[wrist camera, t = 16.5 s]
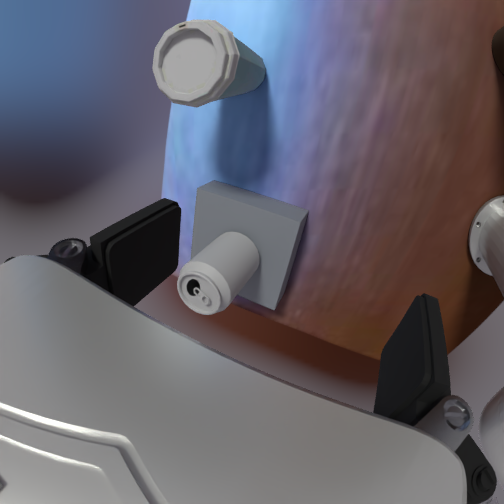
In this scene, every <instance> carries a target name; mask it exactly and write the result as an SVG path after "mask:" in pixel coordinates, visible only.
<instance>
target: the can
mask: <svg viewBox="0 0 504 504" xmlns="http://www.w3.org/2000/svg"><path fill="white" fill-rule="evenodd" d="M258 265H259V253H258V250H257V248H256V246H255V245H254V243H253V242H252V241H251V240H250V239H249V238H248V237H247V236H245V235H243V234H241V233H238V232H225V233H224V234H222V235H220V236H219V237H218V238H216V239H215V240H214V241H213V242H211V243H210V244H209V245H208V246H207V247H205V248H204V249H203V250H202V251H201V252H199V253H198V254H197V255H196V256H195V257H193V258H192V259H191V260H190V261H189V262H188V263H186V264H185V265H184V266H183V268H182V269H181V271H180V276H179V278H178V282H177V287H178V292H179V294H180V297H181V299H182V300H183V301H184V303H185V304H186V305H187V306H188V307H190V309H192V310H194V311H195V312H197V313H200V314H204V315H211V314H214V313H216V312H220V311H222V310H224V309H225V308H226V307H227V306H228V305H229V304H230V303H231V302H232V300H233V299H234V298H235V297H236V295H237V294H238V293H239V292H240V290H241V289H242V288H243V286H244V285H245V284H246V283H247V281H248V280H249V279H250V278H251V276H252V275H253V274H254V272H255V271H256V270H257V268H258Z"/></svg>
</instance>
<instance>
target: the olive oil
mask: <svg viewBox="0 0 504 504" xmlns="http://www.w3.org/2000/svg"><path fill="white" fill-rule="evenodd" d="M492 51H493V56H494V59H495V61H496V64H497V66H498V68H499V69H500V71H501V72H502V74H503V75H504V26H503V27H502V28H501V29H499V30H498V31H497V32H496V33H495V35H494V37H493V40H492Z"/></svg>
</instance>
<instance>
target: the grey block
mask: <svg viewBox="0 0 504 504" xmlns="http://www.w3.org/2000/svg"><path fill="white" fill-rule="evenodd" d="M307 215H308V210H306V209H303V208H300V207H297V206H294V205H291V204H288V203H285V202H282V201H279V200H276V199H273V198H270V197H267V196H264V195H260V194H257V193H254V192H251V191H248V190H245V189H241V188H238V187H235V186H232V185H228V184H225V183H222V182H218V181H215V180H213V181H211V182H209V183H207V184H205V185H203V186H201V187H199V188H197V195H196V205H195V215H194V226H193V238H192V250H191V259H192V258H193V257H195V256H196V255H197V254H198V253H199V252H201V251H202V250H203V249H204V248H205V247H207V246H208V245H209V244H210V243H211V242H213V241H214V240H215V239H216V238H218V237H219V236H220V235H222V234H224V233H225V232H238V233H241V234H243V235H245V236H247V237H248V238H249V239H250V240H251V241H252V242H253V243H254V245H255V246H256V248H257V250H258V253H259V265H258V268H257V270H256V271H255V272H254V274H253V275H252V276H251V278H250V279H249V280H248V281H247V283H246V284H245V285H244V286H243V288H242V289H241V290H240V292H239V293H238V294H237V295H239V296H241V297H243V298H246V299H248V300H250V301H253V302H255V303H258V304H260V305H262V306H265V307H267V308H270V309H272V310H275V308H276V307H277V305H278V303H279V301H280V300H281V298H282V296H283V294H284V292H285V288H286V285H287V282H288V279H289V276H290V272H291V269H292V266H293V262H294V259H295V256H296V252H297V249H298V246H299V242H300V239H301V236H302V232H303V229H304V225H305V222H306V218H307Z"/></svg>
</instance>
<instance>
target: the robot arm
mask: <svg viewBox="0 0 504 504" xmlns="http://www.w3.org/2000/svg"><path fill="white" fill-rule="evenodd" d="M503 200H504V195H502V196H497V197H495V198H492V199H491V200H489V201H488V202H486V203H485V204H484V205H483V206H482V207H481V208H480V209H479V211H478V212H477V214H476V215H475V217H474V219H473V221H472V224H471V227H470V231H469V249H470V253H471V256H472V259H473V261H474V262H475V264H476V265H477V267H478V268H479V269H480V270H481V271H483V272H484V273H486V274H488V275H491V276H493V277H494V279H495V281H496V283H497V285H498V287H499V289H500V291H501V293H502V295H503V297H504V202H503ZM180 222H181V208H180V207H179V205H178V203H177V202H175V201H172V200H169V199H166V198H163V199H161V200H159V201H157V202H155V203H153V204H151V205H149V206H147V207H145V208H143V209H141V210H139V211H138V212H135V213H134V214H131V215H130V216H128V217H126V218H124V219H122V220H120V221H118V222H117V223H115V224H113V225H111V226H109V227H107V228H105V229H104V230H102V231H100V232H98V233H96V234H95V235H93V236H91V237H90V243H91V245H90V246H88V247H87V244H86V243H85V241H83V240H81V239H78V238H68V239H64V240H61V241H59V242H57V243H56V244H55V245H53V247H52V248H51V250H50V252H49V255H39V256H32V255H24V256H23V255H22V256H18V257H11V258H9V259H7V260H6V262H4V263H3V264H1V265H0V504H498V500H497V497H495V498H492V495H493V493H494V491H495V488H496V482H497V480H498V481H499V483H500V485H501V487H502V489H503V491H504V387H503V388H502V389H501V390H500V391H499V392H497V393H496V394H495V395H494V396H493V397H492V399H491V400H490V401H489V402H488V403H487V404H486V406H485V407H484V409H483V411H482V413H481V416H480V419H479V426H478V430H479V439H480V444H481V447H482V450H483V452H484V454H483V453H482V452H481V450H480V449H479V447H478V446H477V445H476V443H475V442H474V440H473V439H472V438H471V436H470V435H469V432H470V431H471V429H472V427H473V423H474V417H473V412H472V410H471V408H470V406H469V405H468V403H467V402H466V401H465V400H463V399H462V398H460V397H458V396H455V395H451V390H450V376H449V366H448V357H447V350H446V342H445V336H444V330H443V324H442V318H441V313H440V307H439V303H438V299H437V298H435V297H432V296H430V295H427V294H425V293H424V294H422V295H421V296H419V295H418V296H416V297H415V299H414V301H413V302H412V304H411V306H410V307H409V309H408V311H407V312H406V314H405V316H404V317H403V319H402V320H401V322H400V324H399V325H398V327H397V328H396V330H395V331H394V333H393V334H392V336H391V337H390V339H389V340H388V342H387V343H386V345H385V347H384V348H383V351H382V354H381V361H380V370H379V378H378V386H377V393H376V399H375V405H374V412H373V413H372V412H369V411H366V410H363V409H360V408H357V407H354V406H351V405H348V404H346V403H343V402H340V401H337V400H334V399H332V398H329V397H326V396H323V395H320V394H318V393H315V392H312V391H310V390H307V389H305V388H302V387H300V386H297V385H294V384H292V383H289V382H287V381H284V380H282V379H279V378H277V377H275V376H272V375H270V374H268V373H265V372H263V371H261V370H258V369H256V368H254V367H252V366H249V365H247V364H245V363H243V362H240V361H238V360H236V359H234V358H232V357H229V356H227V355H225V354H223V353H221V352H219V351H216V350H215V349H213V348H210V347H209V346H206V345H204V344H202V343H200V342H198V341H196V340H194V339H192V338H190V337H188V336H187V335H185V334H183V333H181V332H179V331H177V330H175V329H173V328H171V327H169V326H168V325H166V324H164V323H162V322H160V321H158V320H156V319H155V318H153V317H151V316H149V315H147V314H146V313H144V312H142V311H140V310H138V309H137V308H135V307H134V306H135V305H136V304H137V303H138V302H139V301H141V299H143V298H144V297H145V296H146V295H148V294H149V293H150V292H151V291H152V290H153V289H154V288H156V287H157V286H158V285H159V284H160V283H162V282H163V281H164V280H165V279H166V278H167V277H169V276H170V275H171V274H172V273H173V272H174V271H175V270H176V269H177V266H178V257H179V238H180ZM477 222H478V224H476V223H477ZM484 455H485V456H484ZM496 479H497V480H496Z"/></svg>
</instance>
